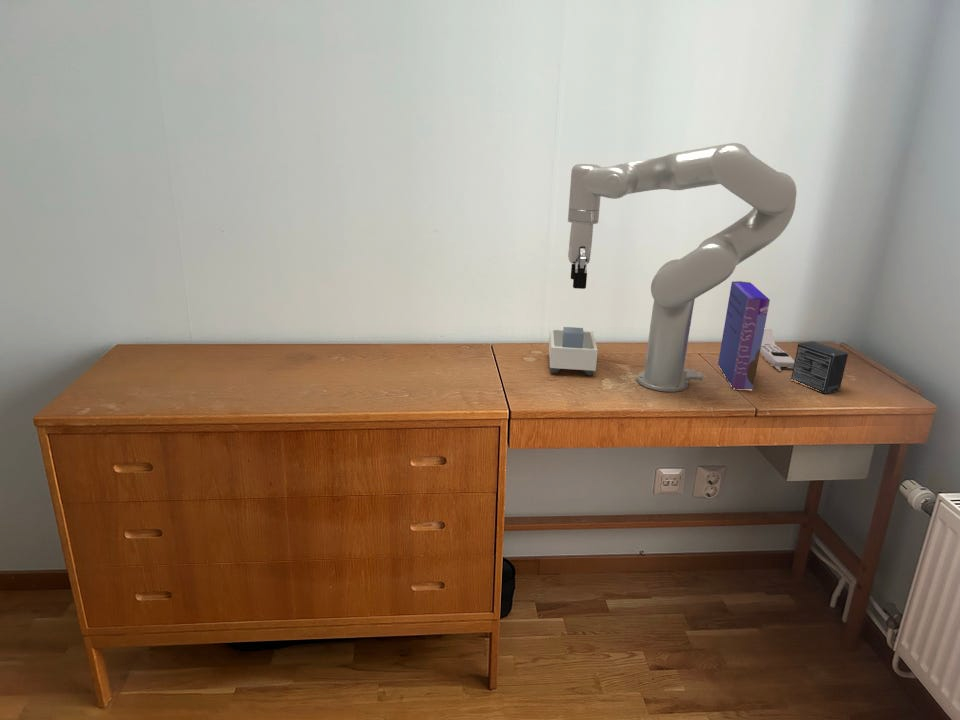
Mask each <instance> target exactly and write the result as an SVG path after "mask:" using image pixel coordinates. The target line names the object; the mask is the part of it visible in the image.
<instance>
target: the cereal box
mask: <svg viewBox="0 0 960 720" xmlns="http://www.w3.org/2000/svg"><path fill="white" fill-rule="evenodd" d="M770 302H771V299H770V298H769V297H767V295H765V294H764V293H763V292H762V291H761V290H760V289H758V288H757V287H756V286H755V285H754V284H753V283H752V282H750V281H742V280H737V281H731V284H730V291H729V297H728V301H727V308H726V314H725V320H724V326H723V332H722V333H723V334H722V338H721V343H720V344H721V345H720V350H719V355H718V363H717V364H718V365H719V366H720V368H721V369H722V371H723V373H724V374H725V376H726V378H727V379H728V381H729V382H730V383H731V385H732V387H733V388H735V389H753V390H754V386H755V382H756V381H755V380H756V374H757V370H758V364H759V360H760V356H761V355H760V349H761V344H762V339H763V334H764V328H765V327H766V323H767V317H768V312H769V306H770ZM718 365H717V366H718ZM723 373H722V374H723ZM726 378H725V379H726ZM728 381H727V382H728ZM732 387H731V388H732Z"/></svg>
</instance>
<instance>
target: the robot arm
mask: <svg viewBox="0 0 960 720" xmlns="http://www.w3.org/2000/svg"><path fill="white" fill-rule="evenodd" d="M716 185H720V186H721V187H722V186H723V188H725V189H726V190H727V191H729V192H730V193H732V194H733V195H734V196H736V197H738V198H739V199H741V200H742V201H744V202H745V203H747V204H748V205H749V206H751V207H753V208H752V209H751V210H750V211H749V212H748V213H746V214H745V215H744V216H742V217H741V218H739V219H738V220H737V221H735V222H734V223H732V224H731V225H729V226H727V227H726V228H724V229H723V230H721V231H720V232H717V233H716V234H714V235H712V236H710V237H708V238H706V239H704V240H703V241H702V242H701V243H700V244H699V245H698V246H697V247H696V248H695V249H693V250H692V251H690V252H689V253H687V254H685V255H684V256H683V257H681V258H680V259H679V258H678V259H677V258H676V259H672V260H669V261H666V262H665V263H664V264H663V265H662V266H661V267H660V268H659V269H658V270H657V272H656V274H655V275H654V277H653V279H652V281H651V285H650V294H651V296H652V299H653V304H652V310H651V311H652V313H651V316H650V317H651V318H650V319H651V320H650V325H649V333H648V340H647V341H648V342H647V349H646V356H645V364H644V370H643V371H640V372H639V373H638V374H637V376H636V378H637V382H638V383H639V385H641V386H643V387H645V388H648V389H651V390H653V391H659V392H668V393H670V392H681V391H684V390H686V389H687V388H688V386H689V381H690V380H695V381H702V380H703V372H696V370H695V369H686V367H685V364H686V357H687V352H688V351H687V350H688V343H689V337H690V330H691V323H692V318H693V317H692V316H693V311H694V305H695V301H696V299H697V298H699V297H701V296H702V295H704V294H705V293H707V292H709V291H711V290H712V289H714V288H715V287H717V286H719V285H720V284H722V283H723V282H725V281H726V280H728V279H729V278H730V276H731V275H732V274H733V273H734V271H735V270H736V267H737V266H738V265H739V264H741V263H742V262H744V261H746V260H747V259H749V258H750V257H752V256H754V255H755V254H756V253H758V252H759V251H761V250H763V249H764V248H766V247H767V246H769V245H770V244H771V243H773V242H774V241H776V239H778V238H779V237H780V236H781V235H782V233H784V231H785V230H786V228H787V227H788V225H789V224H790V222H791V219H792V217H793V215H794V211H795V208H796V201H797V200H796V199H797V185H796V182H795V180H794V179H793V178H792V177H791V176H790V175H789V174H787V173H785V172H782V171H777V170H775V168H772V167H771V166H769V165H768V164H766V163H765V162H763V160H761V159H759V158H758V157H757V156H755V155H754V154H752V153H751V151H750V150H749V149H748V147H747V146H746V145H744V144H742V143H739V142H731V143H725V144H718V145H712V146H706V147H701V148H696V149H691V150H689V149H688V150H685V151H677V152H673V153H669V154H667V155H664V156H660V157H656V158H648V159H643V160H637V161H632V162H625V163H620V164H616V165H612V166H603V167H602V166H600V165H598V164H592V163H591V164H590V163H578V164H575V165H574V166H572V168H571V175H570V188H569V199H568V201H569V203H568V213H567V215H568V216H567V222H568V223H570V224H571V225H570V234H569V244H568V252H567V257H568V262H569V263H571V268H570V279H571V280H573V282H572V288H573V289H580V290H582V289H586V288H587V279H588V264H589V263H590V261H591V253H592V244H593V232H594V225H597V224H599V219H600V218H599V217H600V208H601V207H600V206H601V197H603V198H608V199H611V200H612V199H614V200H615V199H620V198H623V197H625V196H627V195H630V194H631V195H632V194H636V193H642V192H649V191H657V190H670V191H685V190H691V189H696V188H701V187H708V186H716Z"/></svg>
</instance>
